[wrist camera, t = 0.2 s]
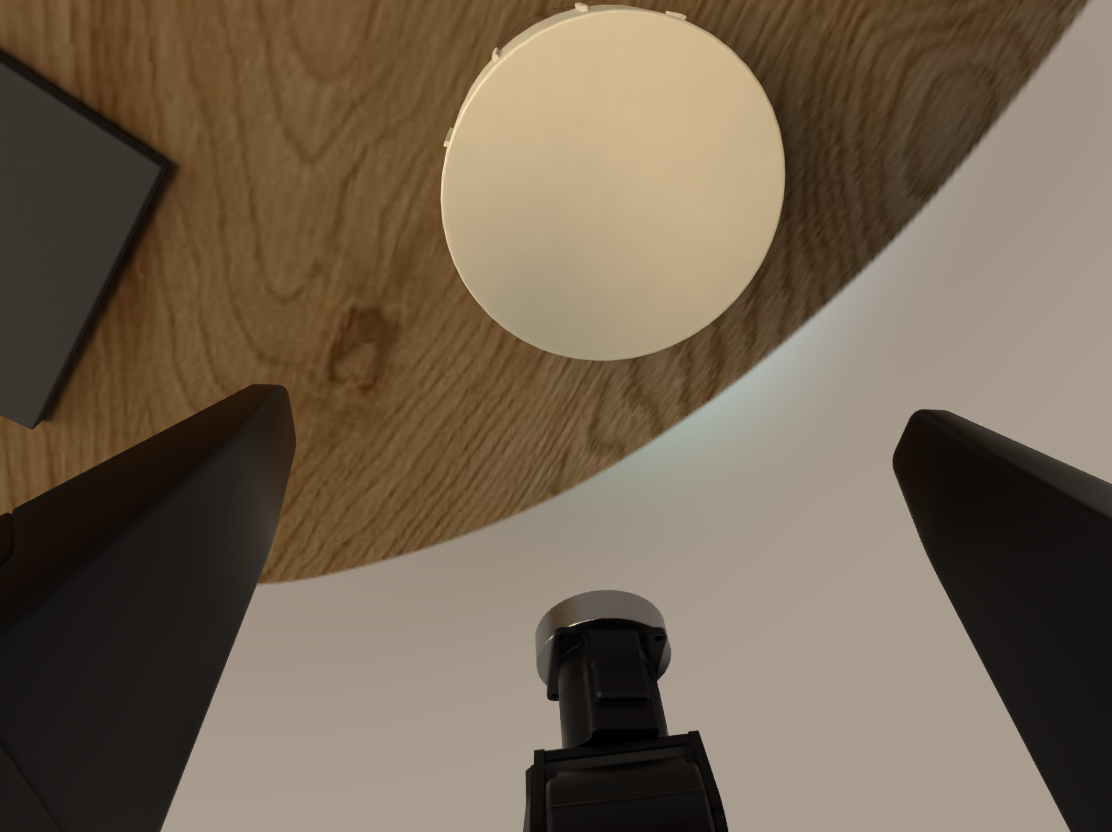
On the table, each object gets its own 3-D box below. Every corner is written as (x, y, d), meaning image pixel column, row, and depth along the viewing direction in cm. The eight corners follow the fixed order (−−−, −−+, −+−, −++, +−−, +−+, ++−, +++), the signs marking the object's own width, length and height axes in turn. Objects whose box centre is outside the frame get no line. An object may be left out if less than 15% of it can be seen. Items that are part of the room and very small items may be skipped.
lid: (716, 328, 16) (740, 367, 15) (449, 315, 16) (442, 355, 14) (789, 21, 13) (833, 27, 11) (447, -13, 12) (437, -10, 10)
